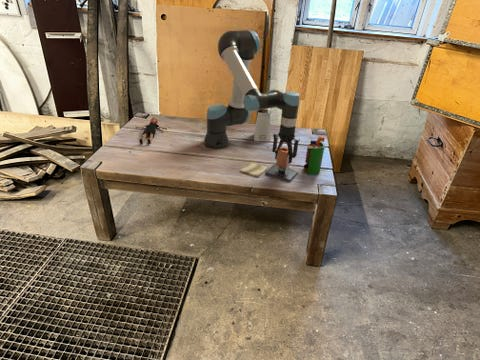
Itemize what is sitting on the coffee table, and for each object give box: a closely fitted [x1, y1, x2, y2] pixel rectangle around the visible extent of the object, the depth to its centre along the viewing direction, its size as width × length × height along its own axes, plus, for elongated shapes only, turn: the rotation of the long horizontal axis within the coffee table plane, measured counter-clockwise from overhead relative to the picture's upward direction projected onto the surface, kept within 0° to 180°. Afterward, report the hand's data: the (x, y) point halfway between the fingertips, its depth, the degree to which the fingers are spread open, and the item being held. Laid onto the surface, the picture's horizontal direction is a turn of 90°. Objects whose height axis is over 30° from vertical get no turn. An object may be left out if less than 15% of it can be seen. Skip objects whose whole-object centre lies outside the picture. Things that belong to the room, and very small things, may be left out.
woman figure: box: [134, 117, 167, 145], centre depth 206 cm, size 20×6×35 cm
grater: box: [253, 108, 272, 143], centre depth 204 cm, size 10×10×20 cm
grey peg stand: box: [264, 163, 299, 183], centre depth 167 cm, size 14×11×12 cm
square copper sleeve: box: [275, 146, 289, 168], centre depth 165 cm, size 5×5×9 cm
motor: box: [302, 135, 326, 176], centre depth 170 cm, size 10×9×20 cm
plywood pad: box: [239, 161, 269, 178], centre depth 172 cm, size 11×11×1 cm
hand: (282, 166), depth 168 cm, fingers closed on square copper sleeve, 5 cm apart
